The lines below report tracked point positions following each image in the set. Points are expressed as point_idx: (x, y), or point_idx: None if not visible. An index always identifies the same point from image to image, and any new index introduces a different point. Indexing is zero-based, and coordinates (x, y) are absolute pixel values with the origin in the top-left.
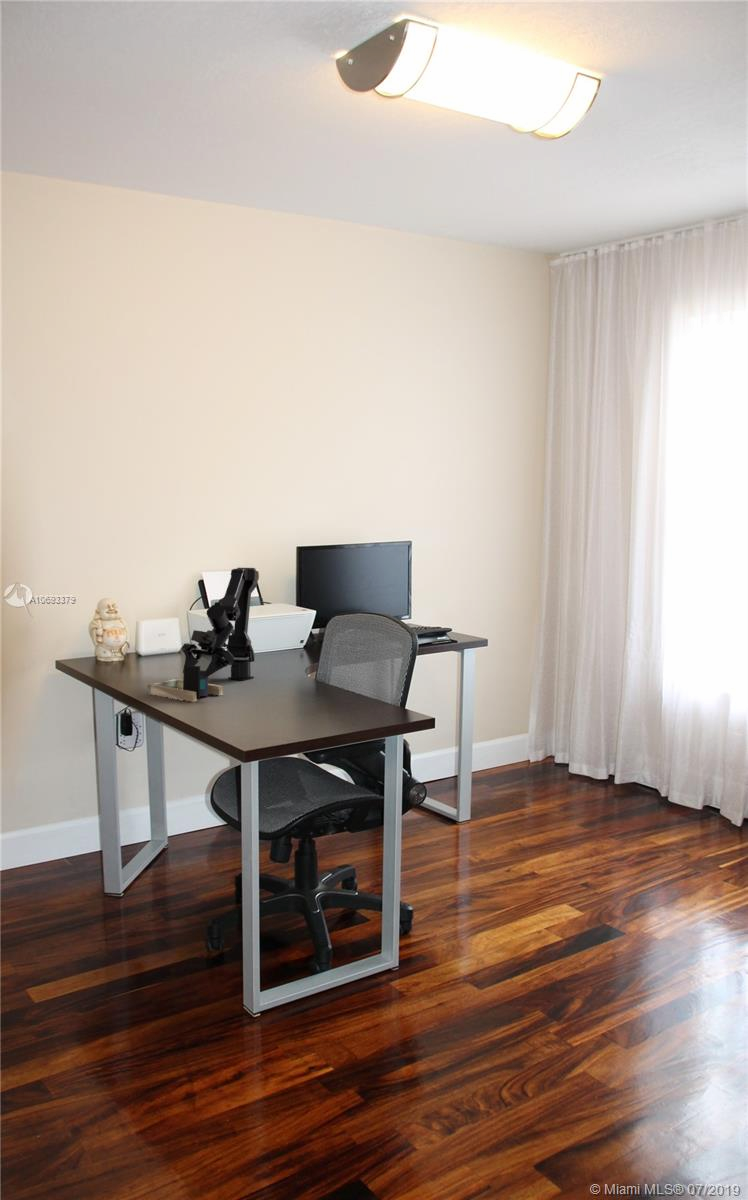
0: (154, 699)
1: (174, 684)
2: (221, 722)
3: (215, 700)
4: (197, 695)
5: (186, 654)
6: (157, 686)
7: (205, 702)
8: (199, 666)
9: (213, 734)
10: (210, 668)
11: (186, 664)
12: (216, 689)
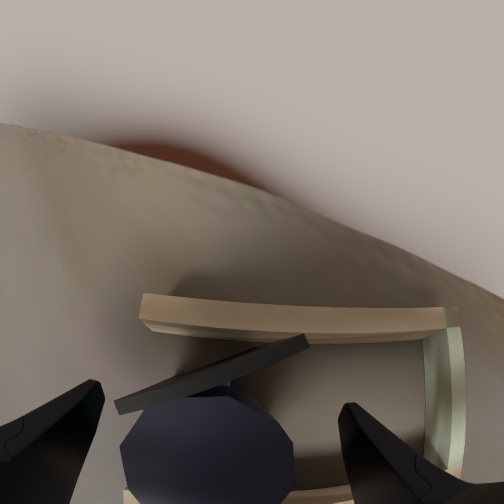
0: (344, 269)
1: (437, 451)
2: (8, 174)
3: None
4: (179, 377)
5: (479, 493)
6: (410, 310)
7: (108, 336)
8: (120, 401)
9: (17, 128)
10: (35, 416)
11: (382, 450)
12: None
